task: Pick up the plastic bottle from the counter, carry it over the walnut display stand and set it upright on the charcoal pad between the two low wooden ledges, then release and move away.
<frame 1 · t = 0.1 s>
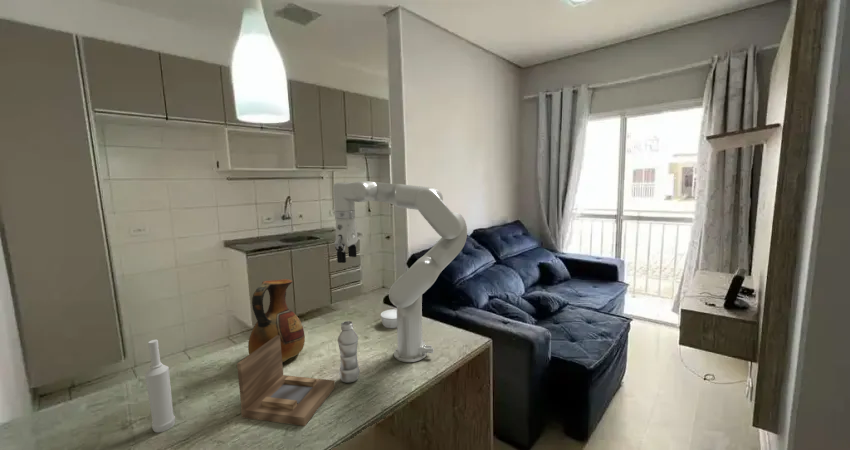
hand: (347, 259, 133), 37 cm above the counter, tool pointing down, fingers open, 9 cm apart
display stand: (291, 401, 106), on the counter
plastic bottle: (350, 380, 116), on the counter
bottle: (164, 427, 96), on the counter
ramekin: (393, 324, 161), on the counter
ceramic pitcher: (278, 357, 133), on the counter
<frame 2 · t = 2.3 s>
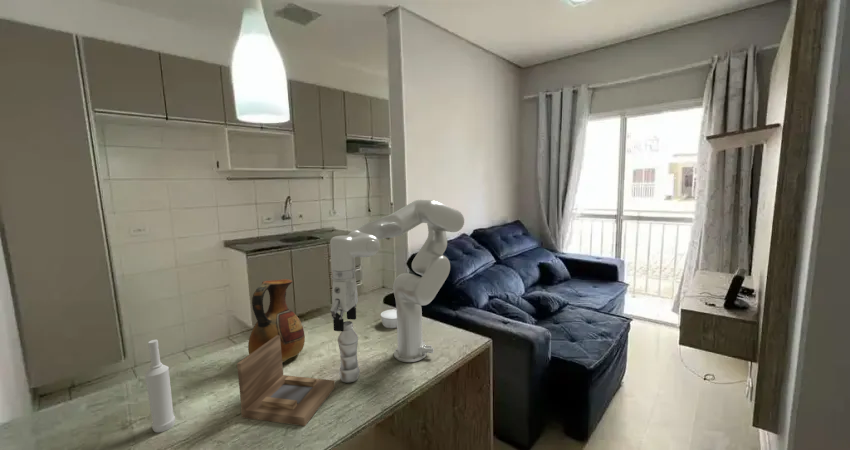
hand: (345, 324, 114), 20 cm above the counter, tool pointing down, fingers open, 9 cm apart
nothing on the counter moved.
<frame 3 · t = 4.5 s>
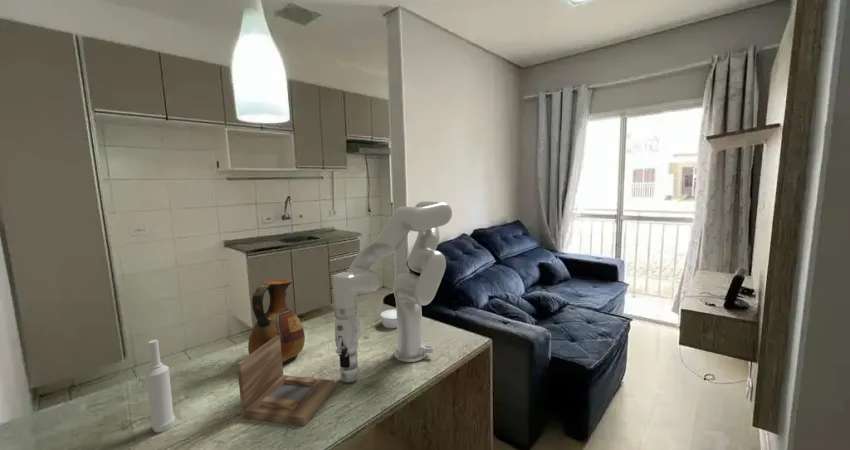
hand: (348, 361, 116), 6 cm above the counter, tool pointing down, fingers closed on plastic bottle, 5 cm apart
plastic bottle: (350, 380, 116), on the counter, touching gripper
everything else where it was.
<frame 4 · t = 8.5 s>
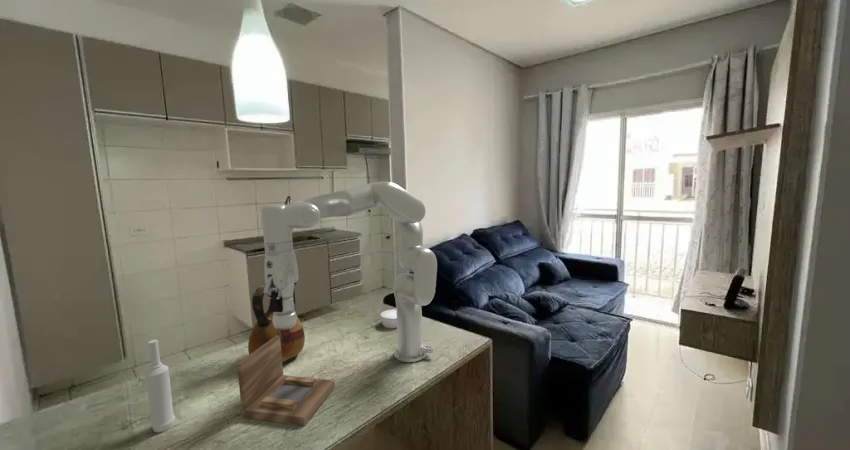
hand: (284, 307, 102), 30 cm above the counter, tool pointing down, fingers closed on plastic bottle, 5 cm apart
plastic bottle: (285, 328, 103), point 23 cm above the counter, touching gripper
everything else where it was.
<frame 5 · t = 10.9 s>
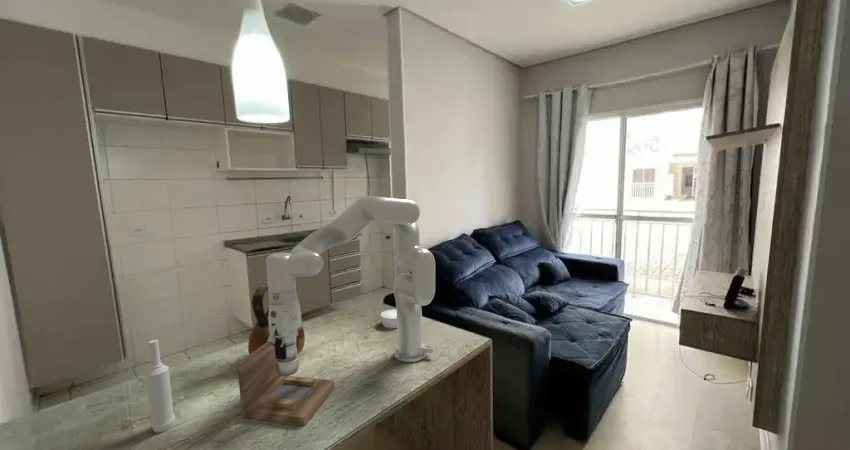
hand: (287, 353, 103), 16 cm above the counter, tool pointing down, fingers closed on plastic bottle, 5 cm apart
plastic bottle: (288, 373, 104), point 9 cm above the counter, touching gripper
everything else where it was.
when the fingers open (11 cm above the counter, at t = 12.9 s): plastic bottle drops 1 cm, resting on display stand.
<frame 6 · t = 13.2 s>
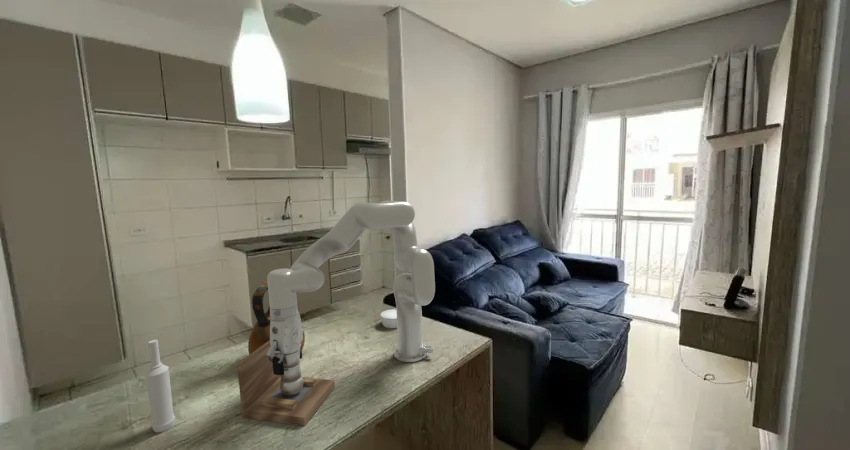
hand: (288, 365, 104), 12 cm above the counter, tool pointing down, fingers open, 8 cm apart
plastic bottle: (292, 393, 105), point 3 cm above the counter, touching display stand
everything else where it was.
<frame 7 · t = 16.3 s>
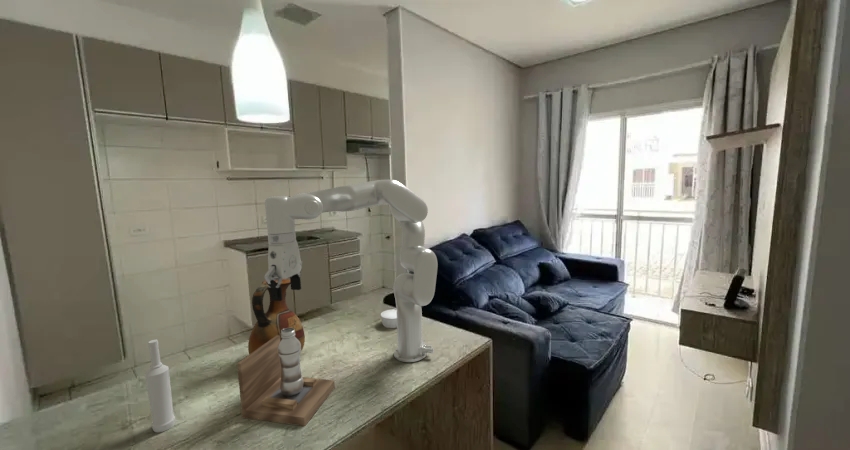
hand: (287, 294, 103), 33 cm above the counter, tool pointing down, fingers open, 9 cm apart
nothing on the counter moved.
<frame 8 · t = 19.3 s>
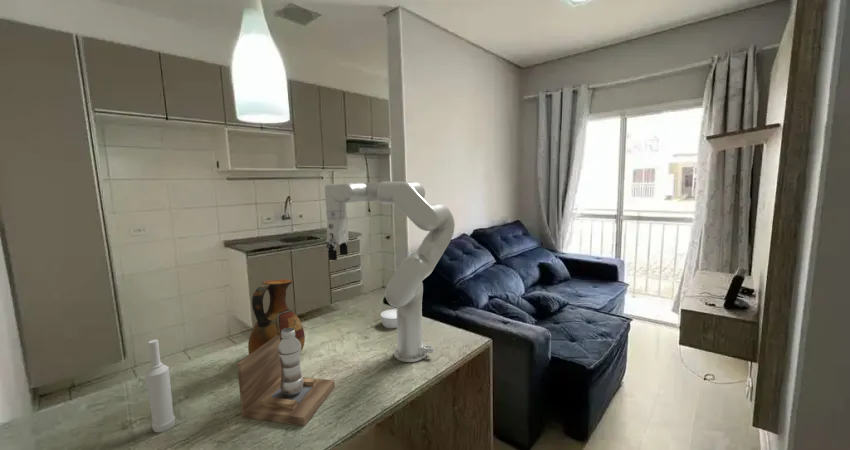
hand: (338, 257, 139), 36 cm above the counter, tool pointing down, fingers open, 9 cm apart
nothing on the counter moved.
at the end: plastic bottle 0.6 cm off-centre on the display stand, point 2.6 cm above the display stand's base; plastic bottle tilted 0°; the gripper is holding nothing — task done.
